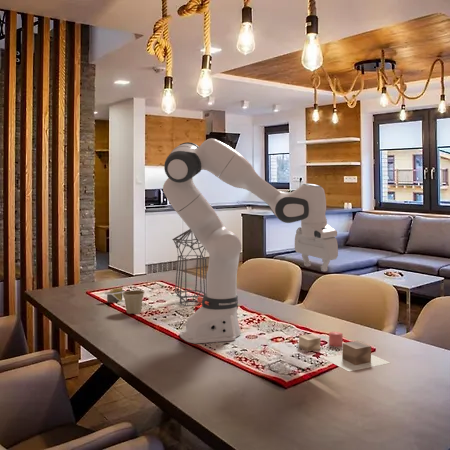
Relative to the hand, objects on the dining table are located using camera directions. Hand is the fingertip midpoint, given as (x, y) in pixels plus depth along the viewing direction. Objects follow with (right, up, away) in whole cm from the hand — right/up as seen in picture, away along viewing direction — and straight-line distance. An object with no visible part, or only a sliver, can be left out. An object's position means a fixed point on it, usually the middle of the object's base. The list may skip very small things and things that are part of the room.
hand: (315, 268), depth 173 cm
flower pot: (-72, -23, +38) cm, 84 cm away
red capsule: (+5, -26, -7) cm, 28 cm away
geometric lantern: (-47, -21, +55) cm, 75 cm away
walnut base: (+8, -26, -23) cm, 36 cm away
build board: (+8, -28, -23) cm, 37 cm away
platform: (-84, -21, +58) cm, 104 cm away
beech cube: (-4, -27, -11) cm, 29 cm away
